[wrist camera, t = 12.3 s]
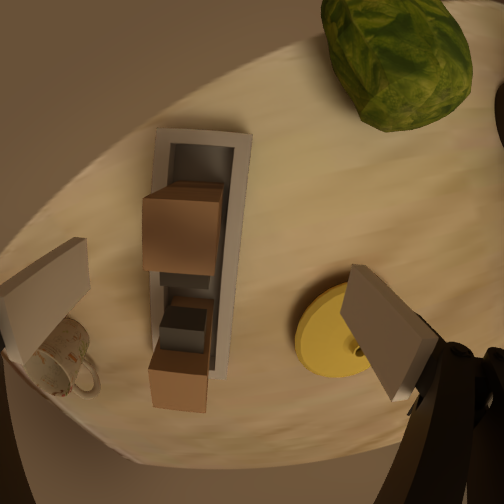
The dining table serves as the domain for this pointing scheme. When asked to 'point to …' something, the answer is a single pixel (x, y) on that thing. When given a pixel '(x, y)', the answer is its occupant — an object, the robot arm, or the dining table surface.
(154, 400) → the brown blocky pieces
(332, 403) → the dining table surface
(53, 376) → the mug
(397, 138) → the dining table surface
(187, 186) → the brown tall block
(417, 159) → the dining table surface
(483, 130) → the dining table surface
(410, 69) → the lettuce
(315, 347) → the yellow curved piece
